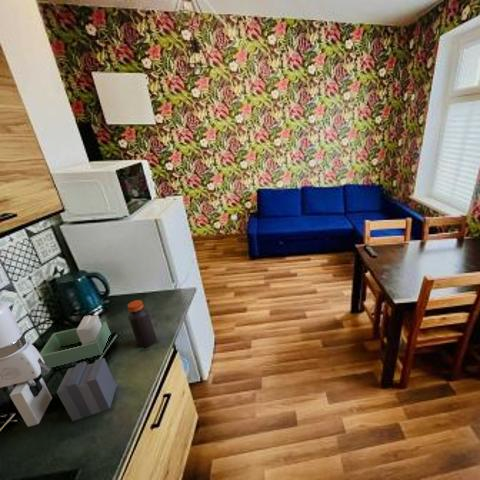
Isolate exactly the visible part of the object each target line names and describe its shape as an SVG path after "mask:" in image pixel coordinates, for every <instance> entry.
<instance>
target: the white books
mask: <svg viewBox="0 0 480 480" xmlns="http://www.w3.org/2000/svg"><path fill="white" fill-rule="evenodd" d="M101 322H102V321H101V319H100V317H99V315H98V314H96V315H89V314H88V315H85V316H83V318H82V320H81V321H80V322H79V325H78V326H77V327H76V328H77V330H76V332H77V334H78V336H79V338H80V340H81V343H82V345H85V344H89V343H93V342H95V340H96V338H97V336H98V334H99V331H100V329H101V327H102V324H101Z"/></svg>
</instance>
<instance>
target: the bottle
mask: <svg viewBox="0 0 480 480" xmlns="http://www.w3.org/2000/svg"><path fill="white" fill-rule="evenodd" d="M127 309H128V312H129V314H128V316H127V317H128V321H129V324H130V326H131V330H132V333H133V337H134V339H135V341H136V344H137V346H138V348H141V349H147V348H150V347H152V346H153V345H154V344H155V343H156V342H157V339H158V338H157V335H156V332H155V329H154V325H153V322H152V319H151V316H150V313H149V310H148V309H147V308H144V303H143V301H142V300H140V299H136V300H133V301H130V302H129V303H128V304H127Z"/></svg>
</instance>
